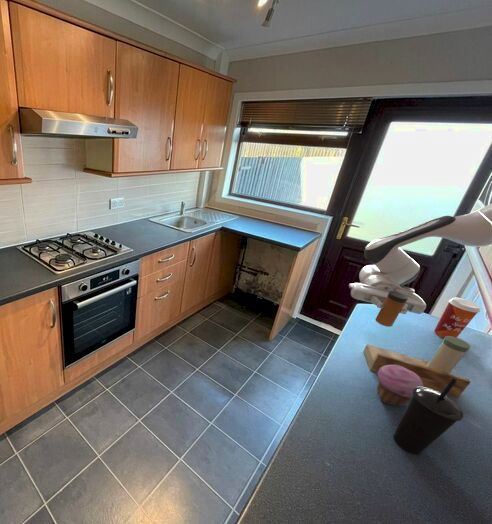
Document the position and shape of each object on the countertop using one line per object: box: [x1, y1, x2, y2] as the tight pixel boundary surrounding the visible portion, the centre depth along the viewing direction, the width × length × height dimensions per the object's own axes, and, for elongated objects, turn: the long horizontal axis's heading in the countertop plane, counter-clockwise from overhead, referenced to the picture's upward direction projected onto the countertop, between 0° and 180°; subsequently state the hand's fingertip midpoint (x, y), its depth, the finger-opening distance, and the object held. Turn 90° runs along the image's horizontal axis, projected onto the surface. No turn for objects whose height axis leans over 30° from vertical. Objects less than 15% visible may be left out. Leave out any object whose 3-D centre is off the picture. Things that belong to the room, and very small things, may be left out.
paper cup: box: [433, 296, 481, 339], centre depth 98 cm, size 8×8×14 cm
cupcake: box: [376, 365, 424, 407], centre depth 72 cm, size 9×9×10 cm
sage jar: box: [426, 336, 471, 374], centre depth 78 cm, size 5×5×11 cm
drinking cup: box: [392, 378, 465, 455], centre depth 59 cm, size 8×8×20 cm
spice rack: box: [362, 344, 471, 399], centre depth 82 cm, size 20×9×6 cm, turn 65°
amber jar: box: [374, 291, 408, 328], centre depth 92 cm, size 5×5×11 cm
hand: (392, 309), depth 91 cm, fingers closed on amber jar, 4 cm apart
